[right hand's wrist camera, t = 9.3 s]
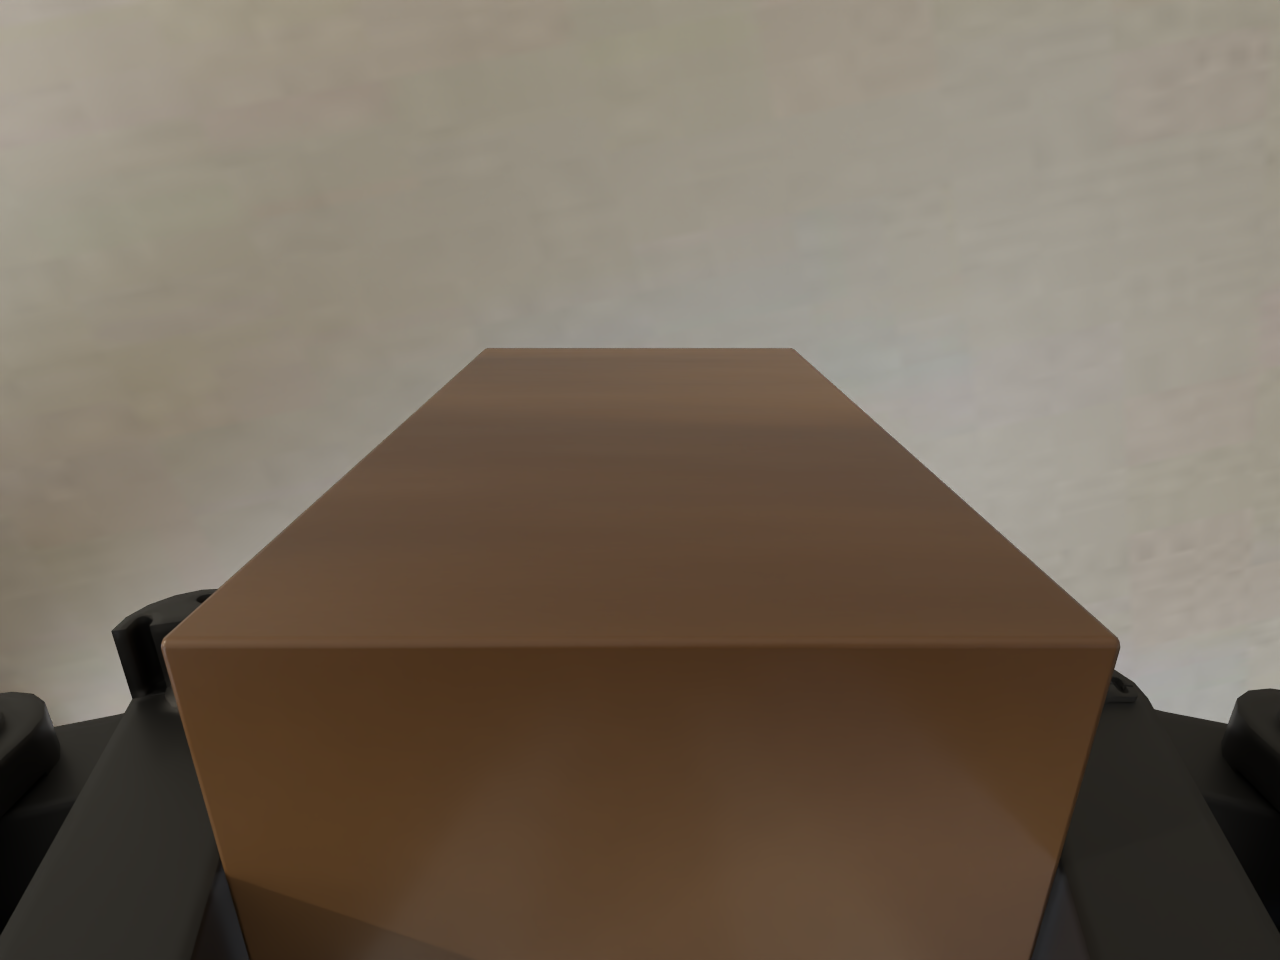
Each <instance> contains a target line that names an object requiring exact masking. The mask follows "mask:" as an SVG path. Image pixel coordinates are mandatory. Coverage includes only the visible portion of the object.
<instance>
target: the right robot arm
mask: <svg viewBox="0 0 1280 960" xmlns="http://www.w3.org/2000/svg"><path fill="white" fill-rule="evenodd" d="M216 590H218V589H208V590H199V591H194V592H189V593H185V594H180V595H175V596H172V597H170V598H167V599H164V600H161V601H158V602H156V603H153V604H150V605H148V606H146V607H144V608H142V609H140V610H139V611H137V612H135V613H133V614H131V615H130V616H128V617H126V618H125V619H124V620H123V621H122V622H121V623H120V624H118V625H117V626H116V627H115V628H114V629H113V630H112V635H113V638H114V641H115V644H116V647H117V651H118V654H119V657H120V660H121V664H122V667H123V670H124V673H125V677H126V680H127V683H128V686H129V689H130V693H131V696H132V701H131V703H130V704H129V706H128V708H127V710H126V711H125V713H123V714H119V715H114V716H109V717H104V718H98V719H93V720H88V721H83V722H78V723H73V724H68V725H62V726H57V727H54V726H53V724H52V721H51V718H50V715H49V713H48V710H47V707H46V704H45V702H44V701H43V700H41V699H40V698H38V697H37V696H35V695H34V694H29V693H18V692H7V693H0V960H249V957H248V953H247V950H246V946H245V943H244V939H243V936H242V932H241V929H240V925H239V922H238V918H237V915H236V911H235V908H234V904H233V900H232V897H231V893H230V890H229V886H228V883H227V879H226V876H225V872H224V869H223V865H222V862H221V858H220V855H219V851H218V848H217V844H216V840H215V837H214V833H213V830H212V826H211V823H210V819H209V816H208V812H207V809H206V805H205V802H204V798H203V795H202V791H201V788H200V784H199V780H198V777H197V773H196V770H195V766H194V763H193V759H192V756H191V752H190V749H189V745H188V742H187V738H186V735H185V731H184V728H183V724H182V720H181V717H180V713H179V710H178V706H177V703H176V699H175V696H174V692H173V689H172V685H171V682H170V678H169V675H168V671H167V668H166V664H165V660H164V657H163V653H162V650H161V644H162V640H163V638H164V637H165V636H166V635H168V634H169V633H170V632H171V631H172V630H173V629H174V628H175V627H176V626H178V625H179V624H180V623H181V622H182V621H183V620H184V619H185V618H186V617H188V616H189V615H190V614H191V613H192V612H193V611H194V610H195V609H196V608H198V607H199V606H200V605H201V604H202V603H203V602H204V601H205V600H206V599H208V598H209V597H210V596H211V595H212V594H213V593H214V592H215V591H216ZM1031 960H1280V690H1277V689H1260V690H1250V691H1247V692H1246V693H1245V694H1243V695H1242V696H1240V697H1239V698H1237V701H1236V704H1235V706H1234V709H1233V712H1232V715H1231V717H1230V720H1229V723H1228V724H1225V723H1220V722H1215V721H1210V720H1205V719H1199V718H1194V717H1189V716H1184V715H1179V714H1173V713H1168V712H1163V711H1159V710H1155V709H1154V708H1153V707H1152V705H1151V703H1150V701H1149V699H1148V698H1147V697H1146V696H1145V694H1144V693H1143V692H1142V691H1141V690H1140V689H1139V688H1138V686H1137V685H1136V684H1135V683H1134V682H1132V681H1131V680H1129V679H1128V678H1126V677H1125V676H1123V675H1122V674H1120V673H1119V672H1117V671H1116V670H1114V671H1113V675H1112V678H1111V682H1110V685H1109V689H1108V692H1107V696H1106V699H1105V703H1104V706H1103V710H1102V713H1101V717H1100V720H1099V724H1098V727H1097V731H1096V734H1095V738H1094V741H1093V745H1092V748H1091V752H1090V755H1089V759H1088V762H1087V766H1086V769H1085V773H1084V776H1083V780H1082V783H1081V787H1080V790H1079V794H1078V797H1077V801H1076V804H1075V808H1074V811H1073V815H1072V818H1071V822H1070V825H1069V829H1068V832H1067V836H1066V839H1065V843H1064V846H1063V850H1062V853H1061V857H1060V860H1059V864H1058V867H1057V871H1056V874H1055V878H1054V881H1053V885H1052V888H1051V892H1050V896H1049V899H1048V903H1047V906H1046V910H1045V913H1044V917H1043V920H1042V924H1041V927H1040V931H1039V934H1038V938H1037V941H1036V945H1035V948H1034V952H1033V955H1032V959H1031Z"/></svg>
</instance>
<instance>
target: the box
mask: <svg viewBox="0 0 1280 960" xmlns="http://www.w3.org/2000/svg"><path fill="white" fill-rule="evenodd" d="M161 650H162V653H163V657H164V660H165V664H166V668H167V671H168V675H169V678H170V682H171V685H172V689H173V692H174V696H175V699H176V703H177V706H178V710H179V713H180V717H181V720H182V724H183V728H184V731H185V735H186V738H187V742H188V745H189V749H190V752H191V756H192V759H193V763H194V766H195V770H196V773H197V777H198V780H199V784H200V788H201V791H202V795H203V798H204V802H205V805H206V809H207V812H208V816H209V819H210V823H211V826H212V830H213V833H214V837H215V840H216V844H217V848H218V851H219V855H220V858H221V862H222V865H223V869H224V872H225V876H226V879H227V883H228V886H229V890H230V893H231V897H232V900H233V904H234V908H235V911H236V915H237V918H238V922H239V925H240V929H241V932H242V936H243V939H244V943H245V946H246V950H247V953H248V957H249V960H1031V959H1032V955H1033V952H1034V948H1035V945H1036V941H1037V938H1038V934H1039V931H1040V927H1041V924H1042V920H1043V917H1044V913H1045V910H1046V906H1047V903H1048V899H1049V896H1050V892H1051V888H1052V885H1053V881H1054V878H1055V874H1056V871H1057V867H1058V864H1059V860H1060V857H1061V853H1062V850H1063V846H1064V843H1065V839H1066V836H1067V832H1068V829H1069V825H1070V822H1071V818H1072V815H1073V811H1074V808H1075V804H1076V801H1077V797H1078V794H1079V790H1080V787H1081V783H1082V780H1083V776H1084V773H1085V769H1086V766H1087V762H1088V759H1089V755H1090V752H1091V748H1092V745H1093V741H1094V738H1095V734H1096V731H1097V727H1098V724H1099V720H1100V717H1101V713H1102V710H1103V706H1104V703H1105V699H1106V696H1107V692H1108V689H1109V685H1110V682H1111V678H1112V675H1113V671H1114V668H1115V664H1116V661H1117V657H1118V654H1119V650H1120V642H1119V640H1118V638H1117V637H1116V636H1115V635H1114V634H1113V633H1112V632H1111V631H1109V630H1108V629H1107V628H1106V627H1105V626H1104V625H1103V624H1102V623H1101V622H1099V621H1098V620H1097V619H1096V618H1095V617H1094V616H1093V615H1092V614H1090V613H1089V612H1088V611H1087V610H1086V609H1085V608H1084V607H1083V606H1081V605H1080V604H1079V603H1078V602H1077V601H1076V600H1075V599H1074V598H1072V597H1071V596H1070V595H1069V594H1068V593H1067V592H1066V591H1065V590H1063V589H1062V588H1061V587H1060V586H1059V585H1058V584H1057V583H1056V582H1055V581H1053V580H1052V579H1051V578H1050V577H1049V576H1048V575H1047V574H1046V573H1044V572H1043V571H1042V570H1041V569H1040V568H1039V567H1038V566H1037V565H1035V564H1034V563H1033V562H1032V561H1031V560H1030V559H1029V558H1028V557H1026V556H1025V555H1024V554H1023V553H1022V552H1021V551H1020V550H1019V549H1017V548H1016V547H1015V546H1014V545H1013V544H1012V543H1011V542H1010V541H1009V540H1007V539H1006V538H1005V537H1004V536H1003V535H1002V534H1001V533H1000V532H998V531H997V530H996V529H995V528H994V527H993V526H992V525H991V524H989V523H988V522H987V521H986V520H985V519H984V518H983V517H982V516H980V515H979V514H978V513H977V512H976V511H975V510H974V509H973V508H971V507H970V506H969V505H968V504H967V503H966V502H965V501H964V500H963V499H961V498H960V497H959V496H958V495H957V494H956V493H955V492H954V491H952V490H951V489H950V488H949V487H948V486H947V485H946V484H945V483H943V482H942V481H941V480H940V479H939V478H938V477H937V476H936V475H934V474H933V473H932V472H931V471H930V470H929V469H928V468H927V467H925V466H924V465H923V464H922V463H921V462H920V461H919V460H918V459H916V458H915V457H914V456H913V455H912V454H911V453H910V452H909V451H908V450H906V449H905V448H904V447H903V446H902V445H901V444H900V443H899V442H897V441H896V440H895V439H894V438H893V437H892V436H891V435H890V434H888V433H887V432H886V431H885V430H884V429H883V428H882V427H881V426H879V425H878V424H877V423H876V422H875V421H874V420H873V419H872V418H870V417H869V416H868V415H867V414H866V413H865V412H864V411H863V410H862V409H860V408H859V407H858V406H857V405H856V404H855V403H854V402H853V401H851V400H850V399H849V398H848V397H847V396H846V395H845V394H844V393H842V392H841V391H840V390H839V389H838V388H837V387H836V386H835V385H833V384H832V383H831V382H830V381H829V380H828V379H827V378H826V377H824V376H823V375H822V374H821V373H820V372H819V371H818V370H817V369H816V368H814V367H813V366H812V365H811V364H810V363H809V362H808V361H807V360H805V359H804V358H803V357H802V356H801V355H800V354H799V353H798V352H796V351H795V350H794V349H792V348H487V349H485V350H484V351H483V352H481V353H480V354H479V355H478V356H477V357H476V358H475V359H474V360H473V361H471V362H470V363H469V364H468V365H467V366H466V367H465V368H464V369H463V370H461V371H460V372H459V373H458V374H457V375H456V376H455V377H454V378H453V379H451V380H450V381H449V382H448V383H447V384H446V385H445V386H444V387H443V388H441V389H440V390H439V391H438V392H437V393H436V394H435V395H434V396H432V397H431V398H430V399H429V400H428V401H427V402H426V403H425V404H424V405H422V406H421V407H420V408H419V409H418V410H417V411H416V412H415V413H414V414H412V415H411V416H410V417H409V418H408V419H407V420H406V421H405V422H404V423H402V424H401V425H400V426H399V427H398V428H397V429H396V430H395V431H394V432H392V433H391V434H390V435H389V436H388V437H387V438H386V439H385V440H383V441H382V442H381V443H380V444H379V445H378V446H377V447H376V448H375V449H373V450H372V451H371V452H370V453H369V454H368V455H367V456H366V457H365V458H363V459H362V460H361V461H360V462H359V463H358V464H357V465H356V466H355V467H353V468H352V469H351V470H350V471H349V472H348V473H347V474H346V475H345V476H343V477H342V478H341V479H340V480H339V481H338V482H337V483H336V484H335V485H333V486H332V487H331V488H330V489H329V490H328V491H327V492H326V493H324V494H323V495H322V496H321V497H320V498H319V499H318V500H317V501H316V502H314V503H313V504H312V505H311V506H310V507H309V508H308V509H307V510H306V511H304V512H303V513H302V514H301V515H300V516H299V517H298V518H297V519H296V520H294V521H293V522H292V523H291V524H290V525H289V526H288V527H287V528H286V529H284V530H283V531H282V532H281V533H280V534H279V535H278V536H277V537H276V538H274V539H273V540H272V541H271V542H270V543H269V544H268V545H267V546H265V547H264V548H263V549H262V550H261V551H260V552H259V553H258V554H257V555H255V556H254V557H253V558H252V559H251V560H250V561H249V562H248V563H247V564H245V565H244V566H243V567H242V568H241V569H240V570H239V571H238V572H237V573H235V574H234V575H233V576H232V577H231V578H230V579H229V580H228V581H227V582H225V583H224V584H223V585H222V586H221V587H220V588H219V589H218V590H216V591H215V592H214V593H213V594H212V595H211V596H210V597H209V598H208V599H206V600H205V601H204V602H203V603H202V604H201V605H200V606H199V607H198V608H196V609H195V610H194V611H193V612H192V613H191V614H190V615H189V616H188V617H186V618H185V619H184V620H183V621H182V622H181V623H180V624H179V625H178V626H176V627H175V628H174V629H173V630H172V631H171V632H170V633H169V634H168V635H166V636H165V637H164V638H163V640H162V644H161Z"/></svg>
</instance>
